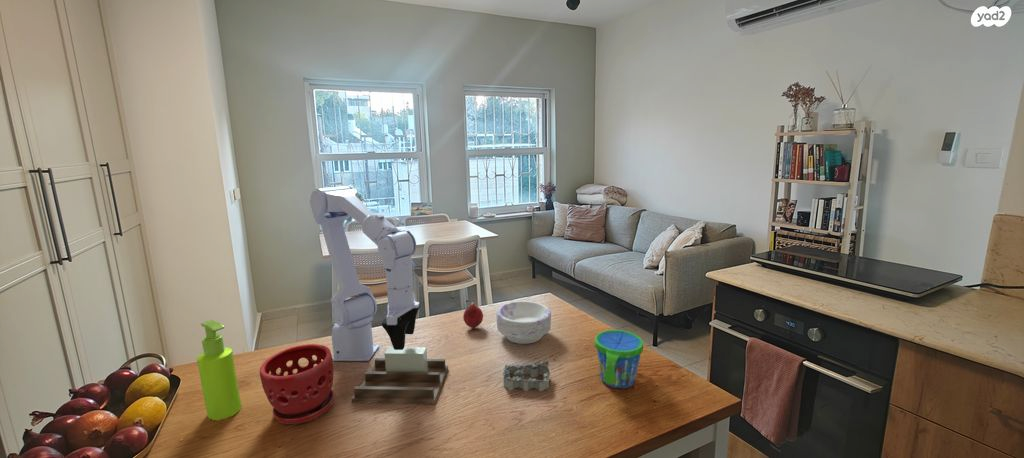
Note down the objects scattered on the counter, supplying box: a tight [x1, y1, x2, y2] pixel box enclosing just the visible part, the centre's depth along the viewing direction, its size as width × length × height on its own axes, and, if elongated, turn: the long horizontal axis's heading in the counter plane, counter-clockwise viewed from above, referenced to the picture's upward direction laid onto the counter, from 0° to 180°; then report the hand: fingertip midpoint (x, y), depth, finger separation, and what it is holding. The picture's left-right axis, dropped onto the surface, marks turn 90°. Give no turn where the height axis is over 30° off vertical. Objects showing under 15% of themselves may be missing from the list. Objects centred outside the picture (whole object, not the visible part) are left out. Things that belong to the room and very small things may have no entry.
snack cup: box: [594, 329, 644, 389], centre depth 96 cm, size 16×10×10 cm
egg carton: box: [502, 360, 551, 392], centre depth 97 cm, size 11×8×4 cm
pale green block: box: [384, 346, 428, 372], centre depth 99 cm, size 9×3×6 cm, turn 87°
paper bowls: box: [496, 300, 552, 345], centre depth 119 cm, size 15×15×8 cm
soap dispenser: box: [196, 319, 242, 421], centre depth 86 cm, size 6×7×20 cm
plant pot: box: [259, 343, 335, 425], centre depth 87 cm, size 13×13×12 cm
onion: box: [462, 301, 484, 329], centre depth 125 cm, size 6×6×8 cm
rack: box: [350, 357, 449, 405], centre depth 97 cm, size 18×14×3 cm
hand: (404, 341), depth 98 cm, fingers open, 7 cm apart
